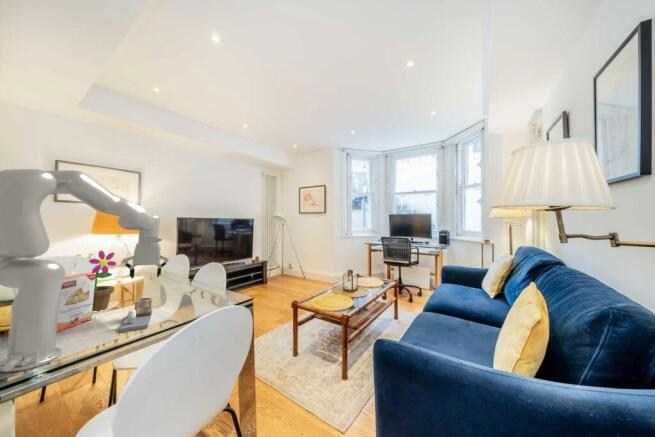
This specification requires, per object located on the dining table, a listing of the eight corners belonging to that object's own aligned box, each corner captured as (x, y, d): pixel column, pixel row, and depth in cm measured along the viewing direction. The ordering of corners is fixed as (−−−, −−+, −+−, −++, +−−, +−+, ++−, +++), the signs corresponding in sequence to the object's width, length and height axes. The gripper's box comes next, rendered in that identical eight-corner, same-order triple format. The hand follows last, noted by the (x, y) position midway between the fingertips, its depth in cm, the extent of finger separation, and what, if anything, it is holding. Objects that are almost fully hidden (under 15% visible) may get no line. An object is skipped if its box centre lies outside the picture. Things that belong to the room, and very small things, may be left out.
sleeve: (151, 311, 116) (152, 296, 116) (150, 315, 111) (151, 300, 111) (136, 313, 113) (137, 298, 113) (133, 317, 108) (135, 301, 108)
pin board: (147, 328, 100) (148, 311, 101) (119, 332, 96) (120, 314, 96) (152, 313, 117) (153, 298, 118) (128, 316, 113) (129, 300, 113)
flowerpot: (87, 316, 110) (92, 251, 112) (64, 313, 113) (69, 250, 114) (120, 306, 124) (124, 249, 126) (98, 304, 127) (103, 247, 128)
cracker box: (57, 333, 93) (61, 279, 94) (42, 332, 93) (46, 278, 94) (92, 319, 107) (96, 273, 108) (79, 319, 107) (83, 272, 108)
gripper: (170, 240, 121) (167, 274, 120) (126, 240, 112) (123, 276, 111) (169, 241, 114) (167, 277, 114) (123, 241, 105) (119, 280, 104)
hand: (145, 277), depth 112 cm, fingers open, 9 cm apart
